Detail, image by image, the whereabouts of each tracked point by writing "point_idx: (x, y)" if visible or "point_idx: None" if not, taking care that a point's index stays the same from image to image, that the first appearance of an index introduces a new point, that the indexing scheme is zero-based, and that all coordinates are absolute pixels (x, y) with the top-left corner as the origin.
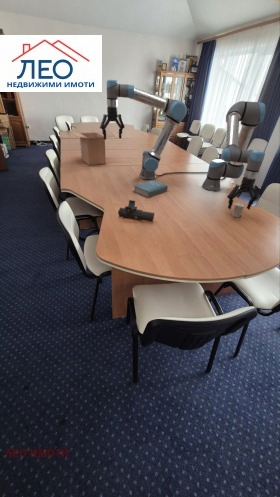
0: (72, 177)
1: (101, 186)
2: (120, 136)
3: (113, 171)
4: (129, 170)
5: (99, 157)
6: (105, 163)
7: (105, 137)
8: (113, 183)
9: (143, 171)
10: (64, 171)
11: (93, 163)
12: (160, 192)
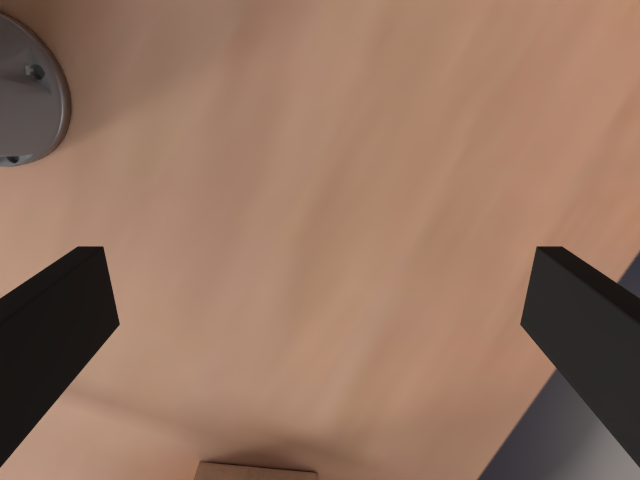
0: None
1: (463, 76)
2: (77, 275)
3: (216, 321)
4: None
5: None
6: (200, 463)
7: (586, 267)
8: (344, 92)
9: (6, 79)
10: (510, 430)
11: (285, 477)
12: None
